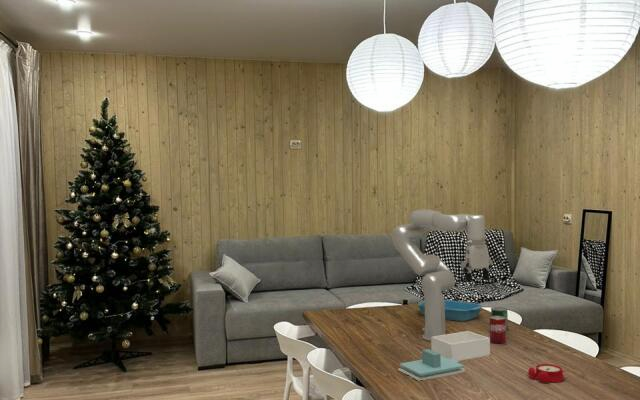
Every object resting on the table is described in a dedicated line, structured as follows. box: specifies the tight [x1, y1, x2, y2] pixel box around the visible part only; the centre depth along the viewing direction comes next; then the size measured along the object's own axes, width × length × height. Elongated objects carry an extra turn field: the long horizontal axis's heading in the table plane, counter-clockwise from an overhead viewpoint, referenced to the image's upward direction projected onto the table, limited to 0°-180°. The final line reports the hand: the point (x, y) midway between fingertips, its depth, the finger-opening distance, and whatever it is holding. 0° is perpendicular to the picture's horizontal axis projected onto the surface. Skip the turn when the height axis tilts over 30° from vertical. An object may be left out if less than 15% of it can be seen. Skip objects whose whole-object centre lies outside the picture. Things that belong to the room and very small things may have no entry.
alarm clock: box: [526, 363, 569, 384], centre depth 215 cm, size 10×6×15 cm
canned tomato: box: [490, 306, 509, 333], centre depth 287 cm, size 8×8×11 cm
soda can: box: [489, 316, 508, 346], centre depth 264 cm, size 7×7×12 cm
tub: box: [430, 330, 491, 362], centre depth 246 cm, size 20×14×8 cm
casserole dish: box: [417, 299, 482, 322], centre depth 322 cm, size 37×22×7 cm, turn 47°
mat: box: [397, 367, 466, 382], centre depth 227 cm, size 14×22×1 cm, turn 115°
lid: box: [399, 348, 465, 377], centre depth 227 cm, size 22×14×7 cm, turn 114°
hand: (477, 280), depth 256 cm, fingers open, 9 cm apart
